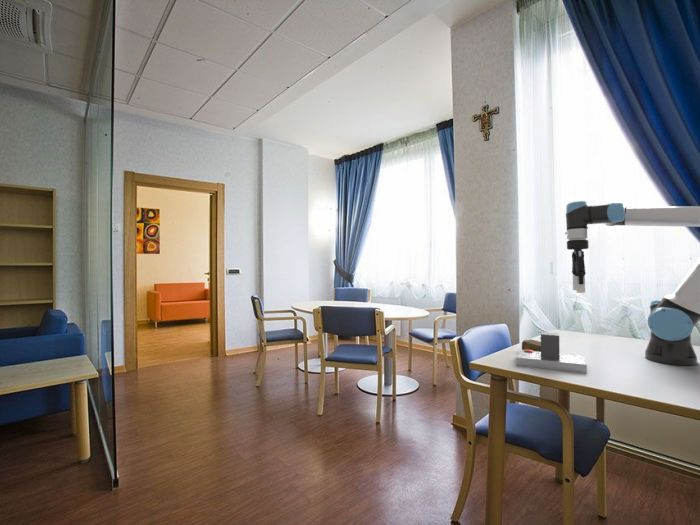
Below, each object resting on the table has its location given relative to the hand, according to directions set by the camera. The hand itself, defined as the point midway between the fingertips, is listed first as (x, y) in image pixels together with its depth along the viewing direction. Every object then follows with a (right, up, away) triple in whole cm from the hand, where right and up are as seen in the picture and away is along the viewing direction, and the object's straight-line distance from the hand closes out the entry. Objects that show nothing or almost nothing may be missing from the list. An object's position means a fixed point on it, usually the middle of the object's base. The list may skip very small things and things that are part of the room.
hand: (578, 291), depth 149 cm
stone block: (-15, -27, +4) cm, 31 cm away
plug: (-19, -26, -12) cm, 35 cm away
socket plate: (-19, -26, -12) cm, 35 cm away
